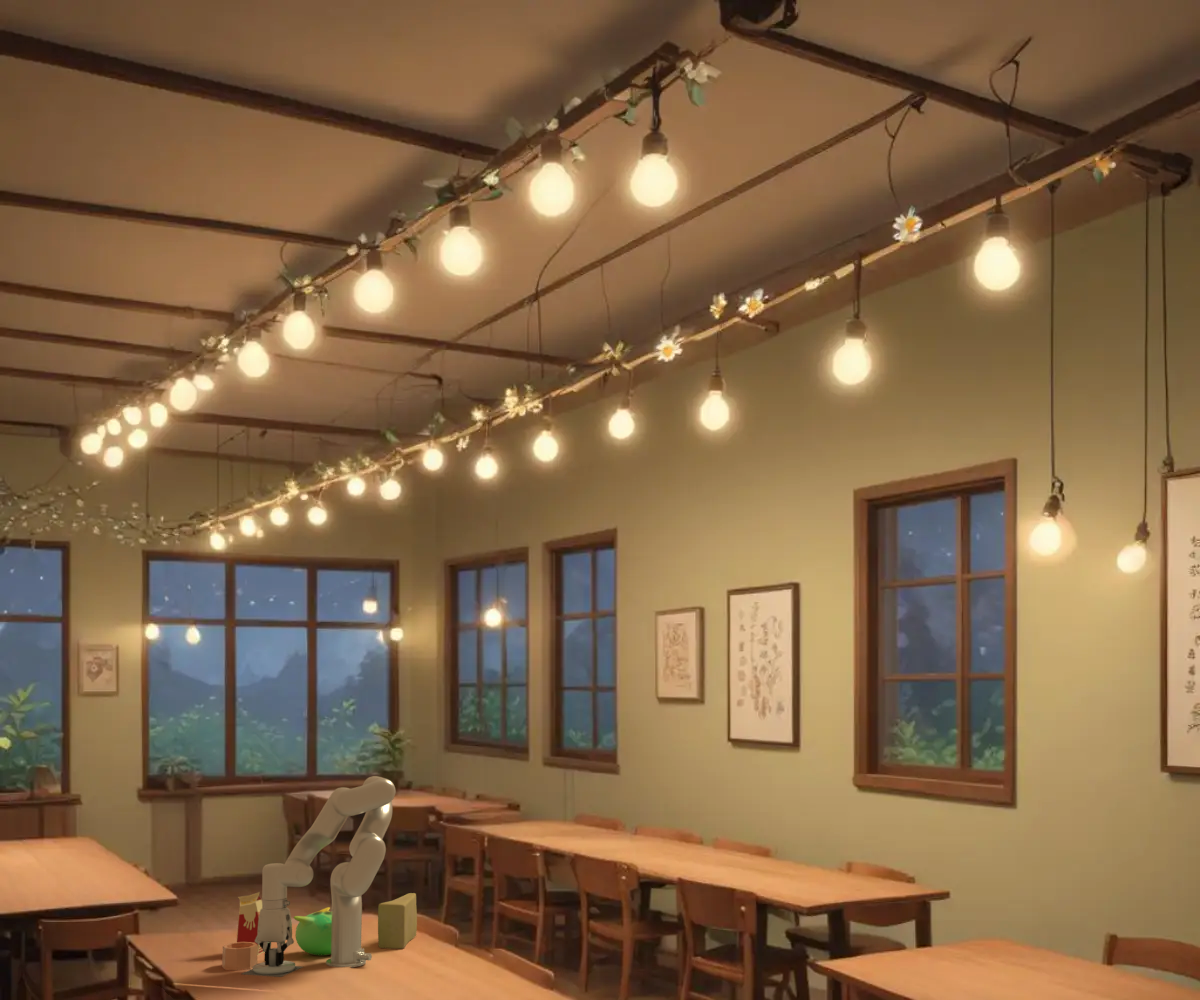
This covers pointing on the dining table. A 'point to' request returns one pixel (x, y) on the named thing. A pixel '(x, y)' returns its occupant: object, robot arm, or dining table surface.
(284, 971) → the lid
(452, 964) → the dining table surface
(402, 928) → the olive green block
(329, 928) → the toy bird
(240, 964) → the bowl
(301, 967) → the mat
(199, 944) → the dining table surface
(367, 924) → the dining table surface
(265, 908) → the robot arm
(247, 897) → the milk carton
